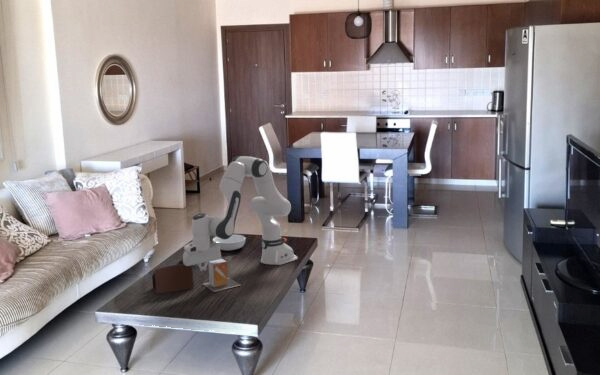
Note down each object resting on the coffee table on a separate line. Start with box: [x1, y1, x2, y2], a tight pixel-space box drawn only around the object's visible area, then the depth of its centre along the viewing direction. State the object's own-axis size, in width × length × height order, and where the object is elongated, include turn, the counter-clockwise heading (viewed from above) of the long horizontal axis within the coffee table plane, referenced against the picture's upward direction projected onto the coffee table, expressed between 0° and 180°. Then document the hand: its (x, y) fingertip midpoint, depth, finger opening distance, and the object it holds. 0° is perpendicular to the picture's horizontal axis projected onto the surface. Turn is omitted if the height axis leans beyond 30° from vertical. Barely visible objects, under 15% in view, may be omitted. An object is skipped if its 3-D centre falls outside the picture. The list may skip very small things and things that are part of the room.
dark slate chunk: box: [176, 259, 204, 274], centre depth 342 cm, size 15×22×5 cm
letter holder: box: [151, 264, 195, 295], centre depth 309 cm, size 10×20×14 cm, turn 113°
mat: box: [202, 277, 242, 293], centre depth 313 cm, size 16×14×1 cm
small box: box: [208, 258, 228, 287], centre depth 312 cm, size 8×6×13 cm
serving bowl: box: [212, 233, 247, 252], centre depth 376 cm, size 21×21×7 cm
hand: (203, 270), depth 306 cm, fingers closed
